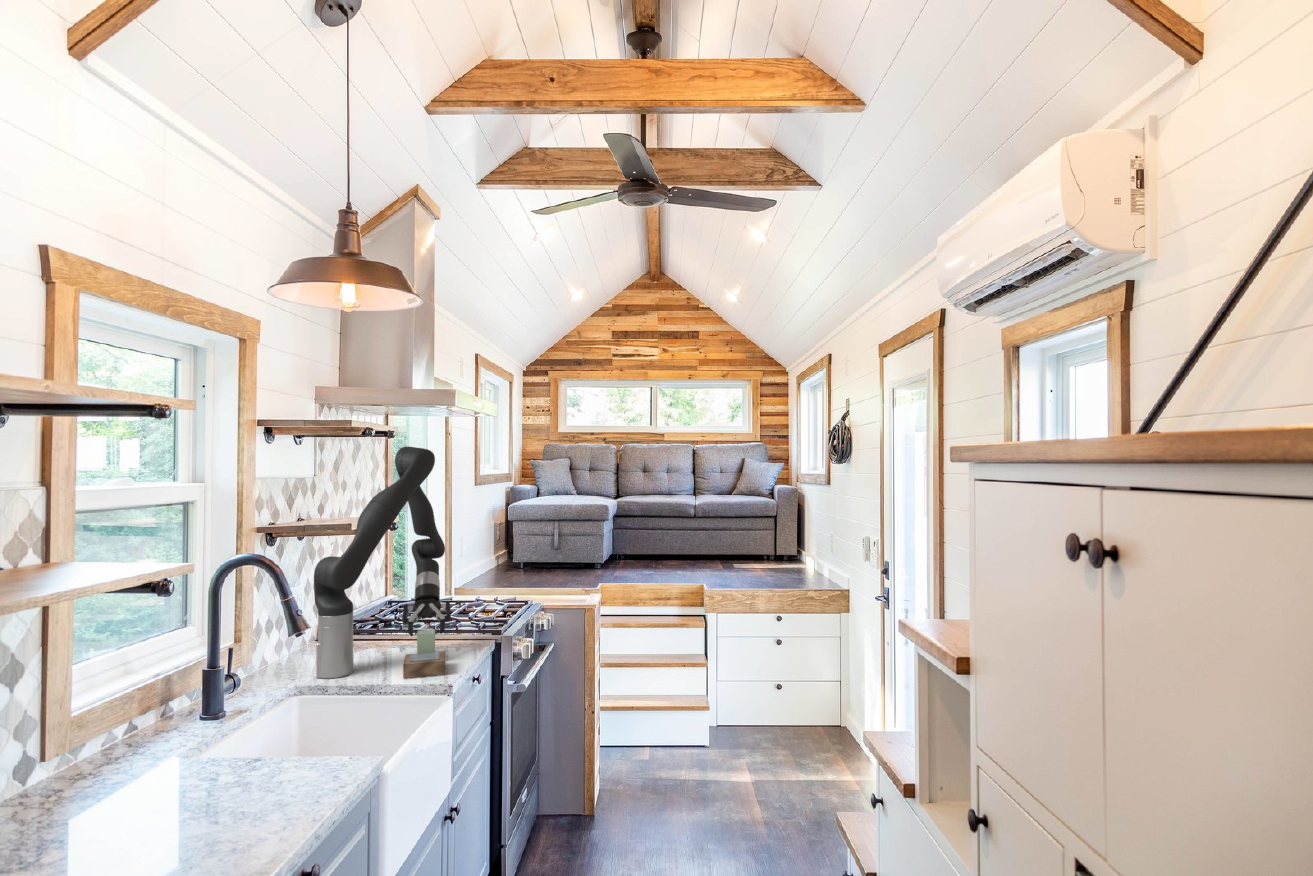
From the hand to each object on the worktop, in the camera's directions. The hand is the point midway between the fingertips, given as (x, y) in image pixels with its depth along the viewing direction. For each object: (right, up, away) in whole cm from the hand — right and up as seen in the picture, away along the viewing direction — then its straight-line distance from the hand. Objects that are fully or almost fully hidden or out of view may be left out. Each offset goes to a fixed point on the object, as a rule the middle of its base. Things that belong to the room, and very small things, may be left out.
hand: (426, 633), depth 217 cm
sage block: (+1, -8, -2) cm, 8 cm away
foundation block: (+4, -7, -13) cm, 15 cm away
